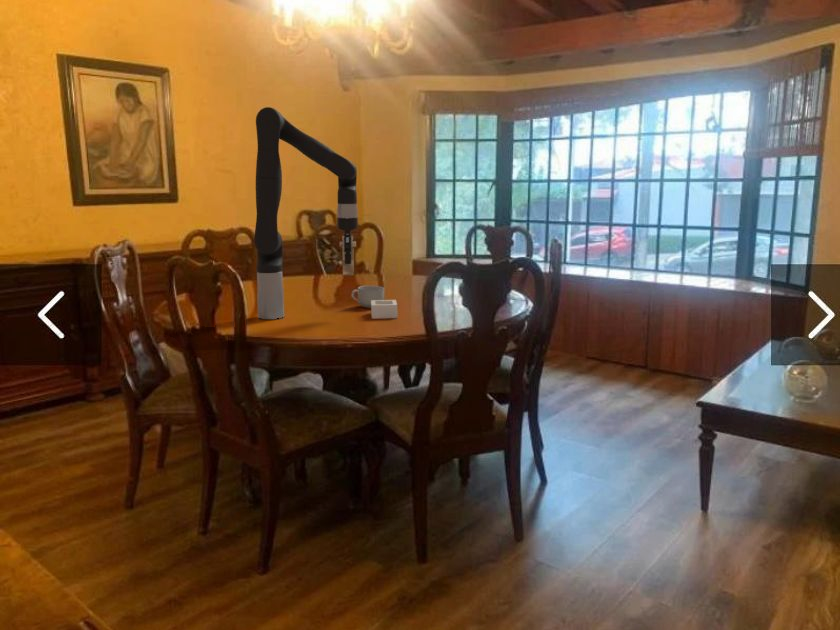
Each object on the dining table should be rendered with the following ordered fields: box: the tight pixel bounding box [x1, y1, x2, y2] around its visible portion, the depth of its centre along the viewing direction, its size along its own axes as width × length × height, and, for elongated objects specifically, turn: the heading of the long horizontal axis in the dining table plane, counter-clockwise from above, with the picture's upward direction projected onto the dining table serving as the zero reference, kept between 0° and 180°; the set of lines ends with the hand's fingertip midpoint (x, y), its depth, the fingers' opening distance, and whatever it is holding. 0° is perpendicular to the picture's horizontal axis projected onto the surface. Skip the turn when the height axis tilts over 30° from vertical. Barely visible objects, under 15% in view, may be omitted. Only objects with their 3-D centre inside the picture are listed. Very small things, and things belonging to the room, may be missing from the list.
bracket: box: [339, 241, 357, 276], centre depth 248 cm, size 6×4×12 cm, turn 95°
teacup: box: [350, 285, 385, 309], centre depth 271 cm, size 14×11×8 cm
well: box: [370, 299, 399, 320], centre depth 253 cm, size 10×11×5 cm
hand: (348, 262), depth 249 cm, fingers closed on bracket, 4 cm apart
